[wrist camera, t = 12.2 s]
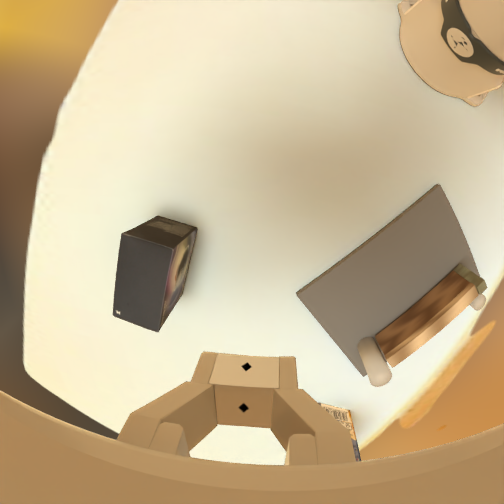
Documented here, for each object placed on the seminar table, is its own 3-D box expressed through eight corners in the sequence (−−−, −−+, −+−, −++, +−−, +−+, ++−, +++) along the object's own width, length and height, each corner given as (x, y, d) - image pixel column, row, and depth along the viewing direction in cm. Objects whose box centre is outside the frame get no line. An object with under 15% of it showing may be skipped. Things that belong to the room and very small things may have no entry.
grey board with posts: (436, 184, 34) (473, 191, 25) (479, 282, 37) (510, 305, 29) (296, 292, 40) (301, 326, 31) (361, 373, 43) (374, 410, 34)
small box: (184, 297, 41) (159, 336, 31) (143, 283, 41) (110, 316, 31) (200, 227, 38) (175, 250, 28) (155, 214, 38) (118, 232, 28)
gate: (380, 343, 40) (393, 369, 33) (373, 335, 39) (387, 361, 33) (463, 271, 35) (487, 288, 29) (459, 262, 35) (483, 278, 29)
